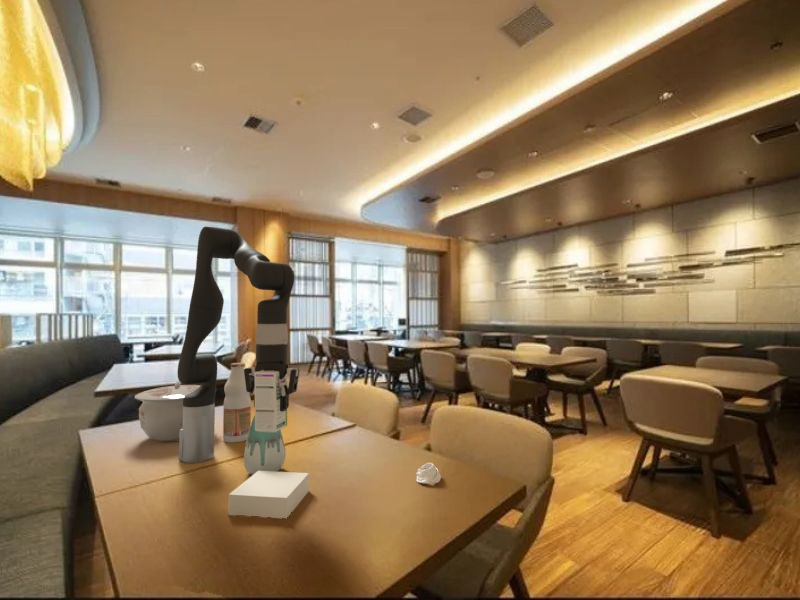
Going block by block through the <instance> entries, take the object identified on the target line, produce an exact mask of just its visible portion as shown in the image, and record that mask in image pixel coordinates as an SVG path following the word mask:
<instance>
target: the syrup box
mask: <svg viewBox="0 0 800 600" xmlns="http://www.w3.org/2000/svg"><path fill="white" fill-rule="evenodd" d="M287 374H288V373H287ZM287 374H286V375H285V377H284V378H286V381H287V382H288V379H287V378H288V375H287ZM254 376H255V407H254V416H255V431H259V432H277V431H278V430H280V429H281V430H282V429H283V428H286V427H287V426H288V409H287V410H285V411H280V396H282V395H281V393H280V389H279V387H278V378H279V371H271V370H266V371H259V372H255V375H254ZM284 378H283V379H281V380H280V381H281V383H283V382H284ZM279 379H280V378H279Z"/></svg>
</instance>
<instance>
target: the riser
mask: <svg viewBox="0 0 800 600" xmlns="http://www.w3.org/2000/svg"><path fill="white" fill-rule="evenodd" d="M309 491H310V473H309V472H296V471H295V472H293V471H277V472H275V471H257V472H256V473H255V474H254V475H251V476H250V477H248V478H247V479H246V480H245V481H244V482H243V483H241V484H240V485H238V487H236V488H235V489H233V490H232V491H231V492H229V493H228V509H227V510H228V516H236V515H245V516H244V517H251V516H261V517H260V518H267V517H271V518H272V519H282V518H286V519H285V520H287V519H288V518H289V516H290V515H291V514H292V513H293V512H294V511H295V510H296V508H297V507H298V505H299V504H301V502H302V500H303V499H304V498H305V496H306V495H307V494H308V493H309ZM291 512H292V513H291ZM246 515H247V516H246ZM287 517H288V518H287ZM271 518H270V519H271Z"/></svg>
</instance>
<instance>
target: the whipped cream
mask: <svg viewBox="0 0 800 600" xmlns="http://www.w3.org/2000/svg"><path fill="white" fill-rule="evenodd" d="M415 475H416V482H417V483H418V484H419V483H420V484H423V485H424V484H430V485H431V484H432V485H434V484H438V483H439V482H440V481H441V477H442V476H441V474H440V471H439V469H438V468H437V467H436V465H435V464H434V463H432V462H427V463H425V464H423V465H422V466H420V467H419V468H418V469H417V472H416V473H415Z"/></svg>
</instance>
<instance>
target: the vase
mask: <svg viewBox="0 0 800 600" xmlns="http://www.w3.org/2000/svg"><path fill="white" fill-rule="evenodd" d="M283 437H284V436H283V433H282V429H280V430H278V431H277V432H259V431H255V415H254V416H253V417H252V419H251V428H250V432H249V436H248V439H247V440H246V443H245V447H244V453H243V464H244V468H245V469H246V471H247V472H248V473H249V474H250V475H251V476H252V475H254V474H255V473H256V472H257V471H275V472H280V470H281V469H282V467H283V466H284V463H285V461H286V446H285V442H284V438H283Z"/></svg>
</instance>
